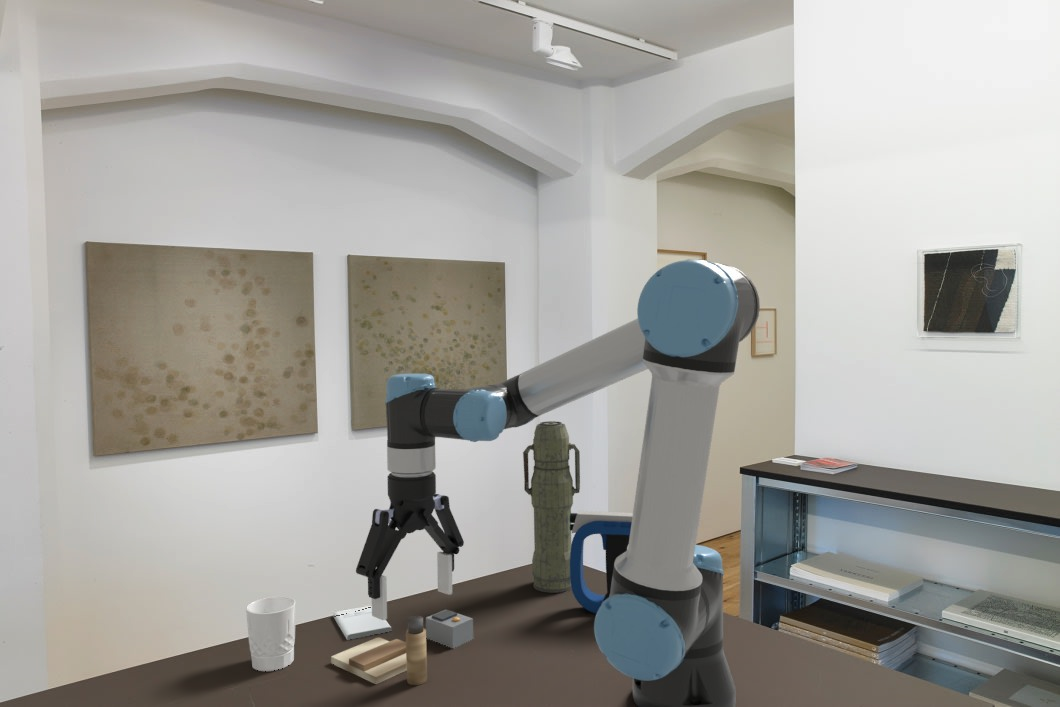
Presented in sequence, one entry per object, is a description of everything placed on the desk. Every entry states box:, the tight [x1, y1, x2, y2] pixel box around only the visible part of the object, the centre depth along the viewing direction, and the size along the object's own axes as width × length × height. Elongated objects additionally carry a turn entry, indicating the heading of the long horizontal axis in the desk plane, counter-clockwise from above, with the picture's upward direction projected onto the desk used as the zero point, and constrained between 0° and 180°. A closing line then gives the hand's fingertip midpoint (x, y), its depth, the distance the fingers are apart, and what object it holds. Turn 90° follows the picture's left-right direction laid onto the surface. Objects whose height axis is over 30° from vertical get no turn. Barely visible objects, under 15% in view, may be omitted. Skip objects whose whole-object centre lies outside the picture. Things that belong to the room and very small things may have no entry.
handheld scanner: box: [570, 510, 633, 615], centre depth 150 cm, size 5×16×20 cm, turn 78°
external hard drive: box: [333, 604, 392, 641], centre depth 147 cm, size 2×8×12 cm
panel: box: [330, 636, 407, 685], centre depth 130 cm, size 12×10×2 cm
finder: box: [425, 609, 474, 649], centre depth 139 cm, size 7×5×4 cm
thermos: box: [522, 420, 581, 594], centre depth 165 cm, size 9×12×35 cm
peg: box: [405, 615, 428, 686], centre depth 123 cm, size 3×3×10 cm
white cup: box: [245, 596, 296, 672], centre depth 131 cm, size 8×8×10 cm
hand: (413, 604), depth 123 cm, fingers open, 13 cm apart
